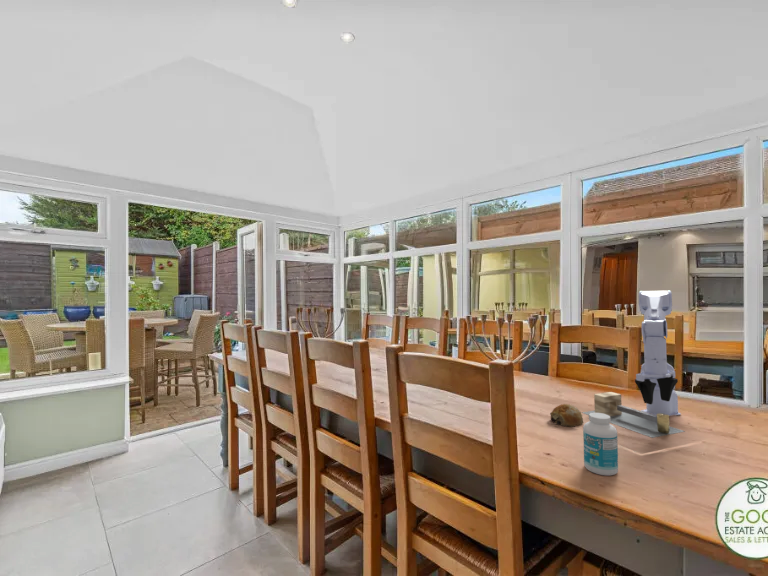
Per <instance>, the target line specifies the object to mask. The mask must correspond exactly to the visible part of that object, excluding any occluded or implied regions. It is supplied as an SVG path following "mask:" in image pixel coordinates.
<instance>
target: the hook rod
mask: <svg viewBox="0 0 768 576" xmlns="http://www.w3.org/2000/svg"><path fill="white" fill-rule="evenodd" d="M617 410H618V411H621V412H625V413H628V414H631V415H634V416H637V417H641V418H644V419H647V420H650V421H653V422H657V430H658V431H659V432H662V433H669V432H670V430H669V426H670V416H669V415H667V414H663V413H658V414H657V415H654V414H650V413H647V412H643V411H644V410H643V411H641V410H638V409H636V408H632V407H629V406H626V405H617Z"/></svg>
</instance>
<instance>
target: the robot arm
mask: <svg viewBox="0 0 768 576" xmlns="http://www.w3.org/2000/svg"><path fill="white" fill-rule="evenodd" d="M638 306H639V312H640V314H642V315H643V321H642V322H641V336H642V343H643V355H644V356H643V357H644V359H643V360H644V363H642V365H641V369H640V372H639V373H636V374H635V379H634V383H635V384H636V386H637V387H638V390H639V392H640V394H641V396H642V400H643V403H644V404H646V409H641V410H640V411H643V412H646V413H649V414H653V415H656V416H657V414H658V413H663V414H667V415H669V417H670V416H681V415H682V413H681V412H679V401H678V400H679V398H678V397H679V396H678V394H677V393H676V391H675V388H676V385H677V384H678V383H679V382H678V378H676V370H675V368H674V367H673V366H672V365H671V364H669V363H668V360H667V359H668V358H667V339H668V322H667V319H666V316H669V315H671V313H672V310H673V293H672V291H671V290H668V289H667V290H640V291H639V292H638Z"/></svg>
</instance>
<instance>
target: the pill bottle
mask: <svg viewBox="0 0 768 576" xmlns="http://www.w3.org/2000/svg"><path fill="white" fill-rule="evenodd" d="M588 419H589V420H588V421H587V422H584V423H583V427H582V431H583V432H582V433H583V435H582V436H583V438H582V439H583V466H584V467H585V469H587V471H589V472H591V473H593V474H597V475H599V476H615V475H617V474H618V472H619V448H618V443H619V442H618V440H619V439H618V430H617V428H616V427H615V425H614V424H612V423H610V422H611V419H610V416H609V415H607V414H603V413H590V414H589V415H588Z"/></svg>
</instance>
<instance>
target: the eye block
mask: <svg viewBox="0 0 768 576" xmlns="http://www.w3.org/2000/svg"><path fill="white" fill-rule="evenodd" d="M593 396H594V397H593V398H594V403H593V404H594V410H595V413H603V414H607V415H609V416H615V415H622V412H621V411H618V410H617V405H622V394H620V393H617V392H613V391H608V392H601V393H600V392H598V393H594V395H593ZM622 406H623V405H622Z"/></svg>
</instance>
